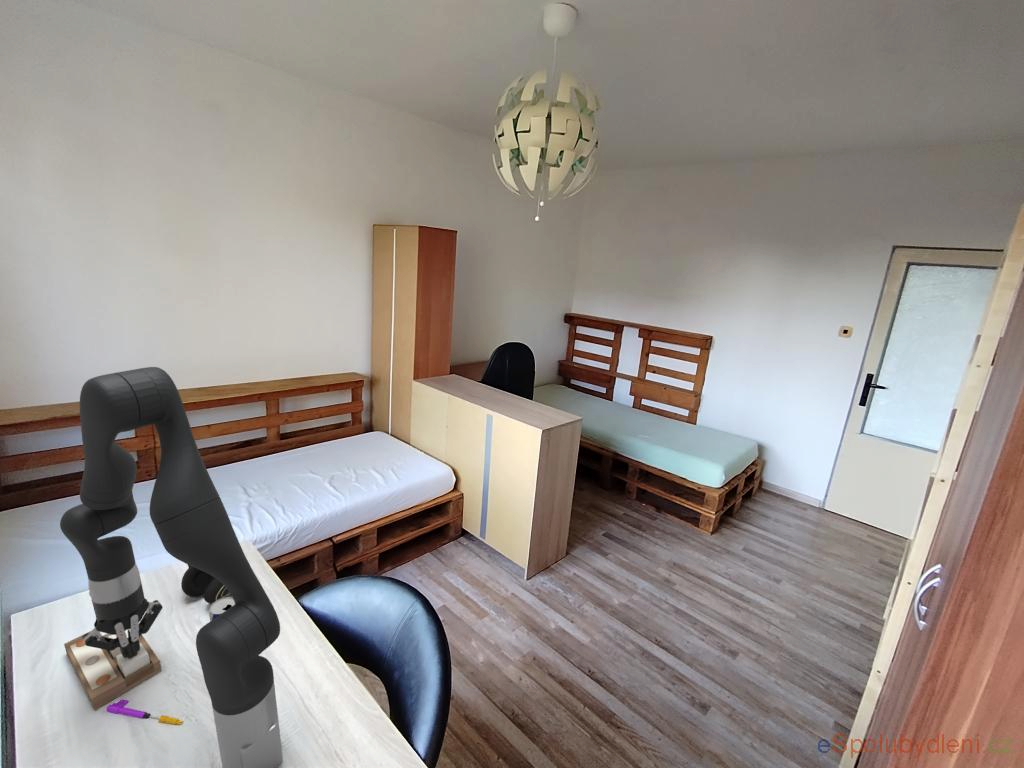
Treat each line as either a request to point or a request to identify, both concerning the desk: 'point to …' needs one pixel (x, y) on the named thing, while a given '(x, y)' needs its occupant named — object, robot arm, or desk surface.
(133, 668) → the button
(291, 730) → the desk surface
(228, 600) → the energy drink
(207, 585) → the headphones
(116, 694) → the button board
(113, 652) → the button middle
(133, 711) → the purple-handled probe tool
